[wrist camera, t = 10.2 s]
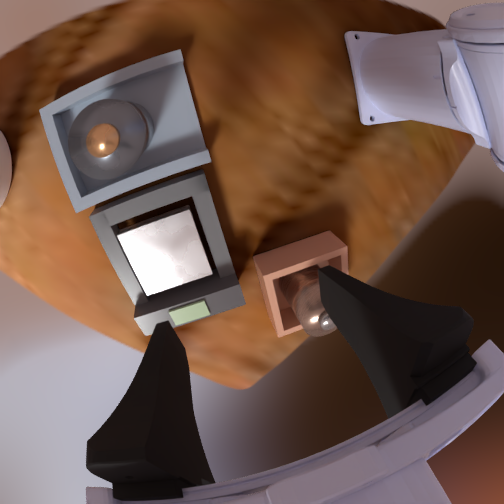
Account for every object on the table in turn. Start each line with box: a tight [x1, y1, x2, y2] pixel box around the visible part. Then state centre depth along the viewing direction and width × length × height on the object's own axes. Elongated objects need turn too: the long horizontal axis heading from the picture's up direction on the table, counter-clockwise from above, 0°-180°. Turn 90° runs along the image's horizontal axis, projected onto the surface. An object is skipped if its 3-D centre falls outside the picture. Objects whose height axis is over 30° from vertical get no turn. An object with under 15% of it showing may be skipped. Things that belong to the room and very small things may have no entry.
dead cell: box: [279, 264, 337, 336], centre depth 22 cm, size 4×4×6 cm
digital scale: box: [89, 169, 246, 336], centre depth 20 cm, size 10×8×3 cm
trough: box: [40, 49, 211, 213], centre depth 15 cm, size 10×8×2 cm
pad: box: [117, 205, 213, 296], centre depth 19 cm, size 5×5×1 cm
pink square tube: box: [253, 230, 348, 337], centre depth 24 cm, size 7×7×3 cm
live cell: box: [68, 99, 154, 180], centre depth 13 cm, size 4×4×6 cm
